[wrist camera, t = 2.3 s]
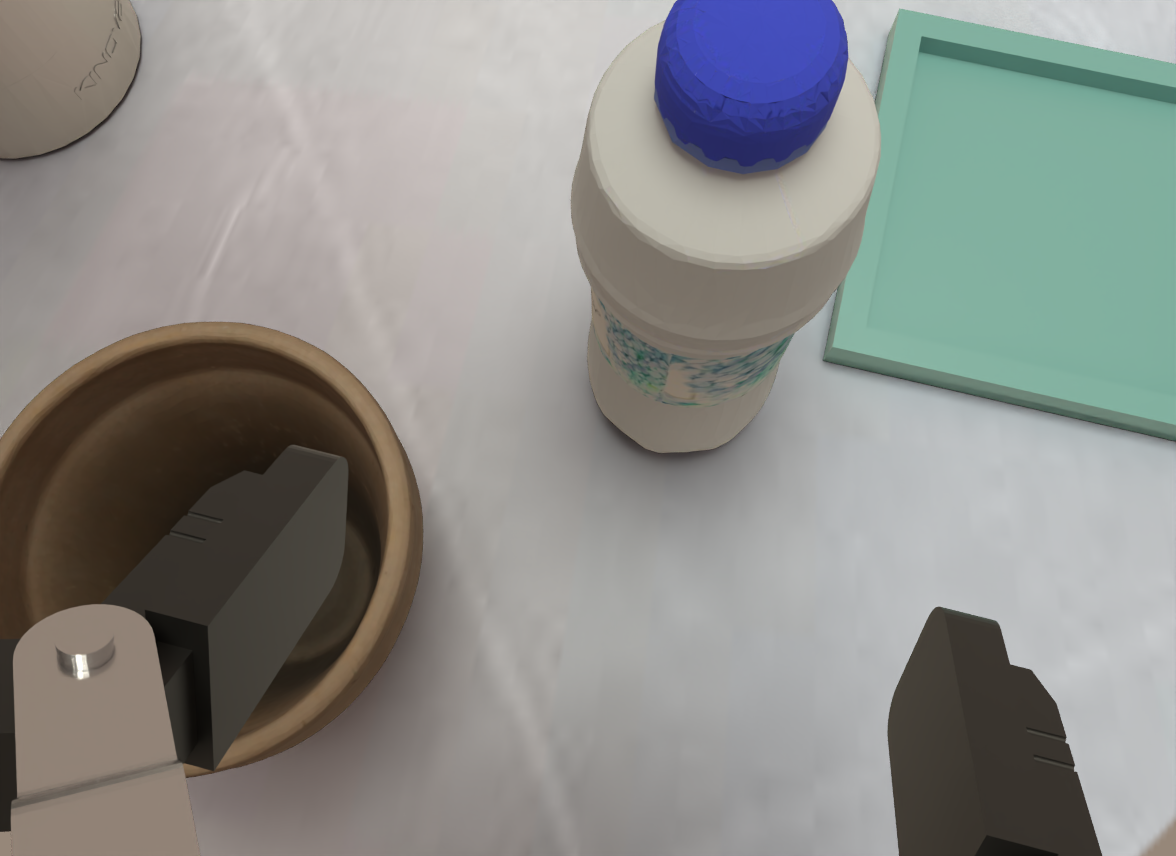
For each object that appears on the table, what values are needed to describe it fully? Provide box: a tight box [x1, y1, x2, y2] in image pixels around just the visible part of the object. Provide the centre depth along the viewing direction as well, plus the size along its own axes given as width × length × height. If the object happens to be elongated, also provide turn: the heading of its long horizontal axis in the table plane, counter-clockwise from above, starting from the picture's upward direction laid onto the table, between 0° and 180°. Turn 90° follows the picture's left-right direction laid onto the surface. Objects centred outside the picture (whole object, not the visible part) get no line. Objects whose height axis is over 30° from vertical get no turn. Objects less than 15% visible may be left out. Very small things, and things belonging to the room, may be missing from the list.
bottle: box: [571, 0, 881, 453], centre depth 26 cm, size 7×7×20 cm
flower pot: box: [0, 322, 423, 778], centre depth 30 cm, size 12×11×10 cm
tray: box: [823, 9, 1176, 441], centre depth 37 cm, size 14×14×2 cm
